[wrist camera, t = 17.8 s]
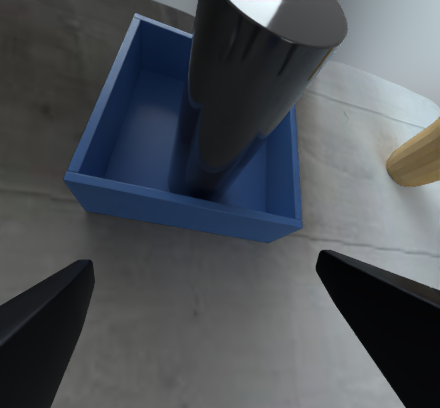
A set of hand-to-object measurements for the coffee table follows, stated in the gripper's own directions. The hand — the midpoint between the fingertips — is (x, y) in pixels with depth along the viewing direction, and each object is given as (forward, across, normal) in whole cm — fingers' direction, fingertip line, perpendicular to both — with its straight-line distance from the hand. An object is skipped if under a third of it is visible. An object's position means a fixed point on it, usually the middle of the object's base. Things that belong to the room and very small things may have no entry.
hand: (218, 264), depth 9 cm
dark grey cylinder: (+12, -1, 0) cm, 12 cm away
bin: (+15, -1, -3) cm, 15 cm away
